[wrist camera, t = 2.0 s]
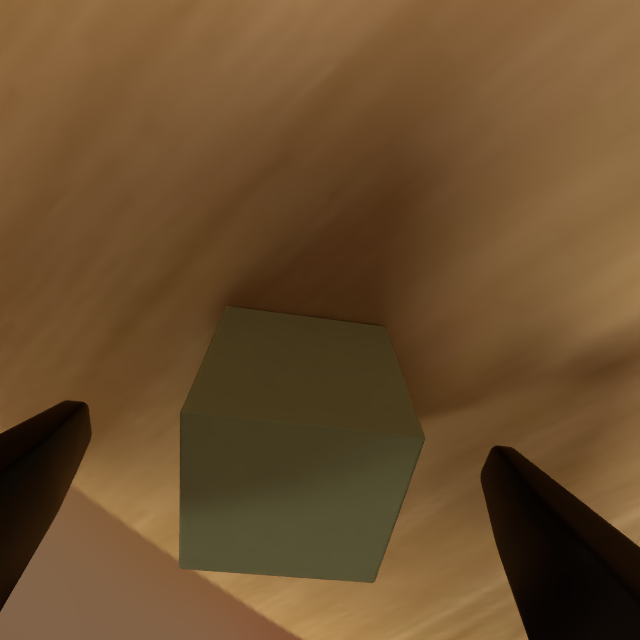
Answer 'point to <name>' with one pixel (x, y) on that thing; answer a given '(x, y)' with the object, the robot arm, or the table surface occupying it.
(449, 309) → the table surface
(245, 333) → the block
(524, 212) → the table surface
